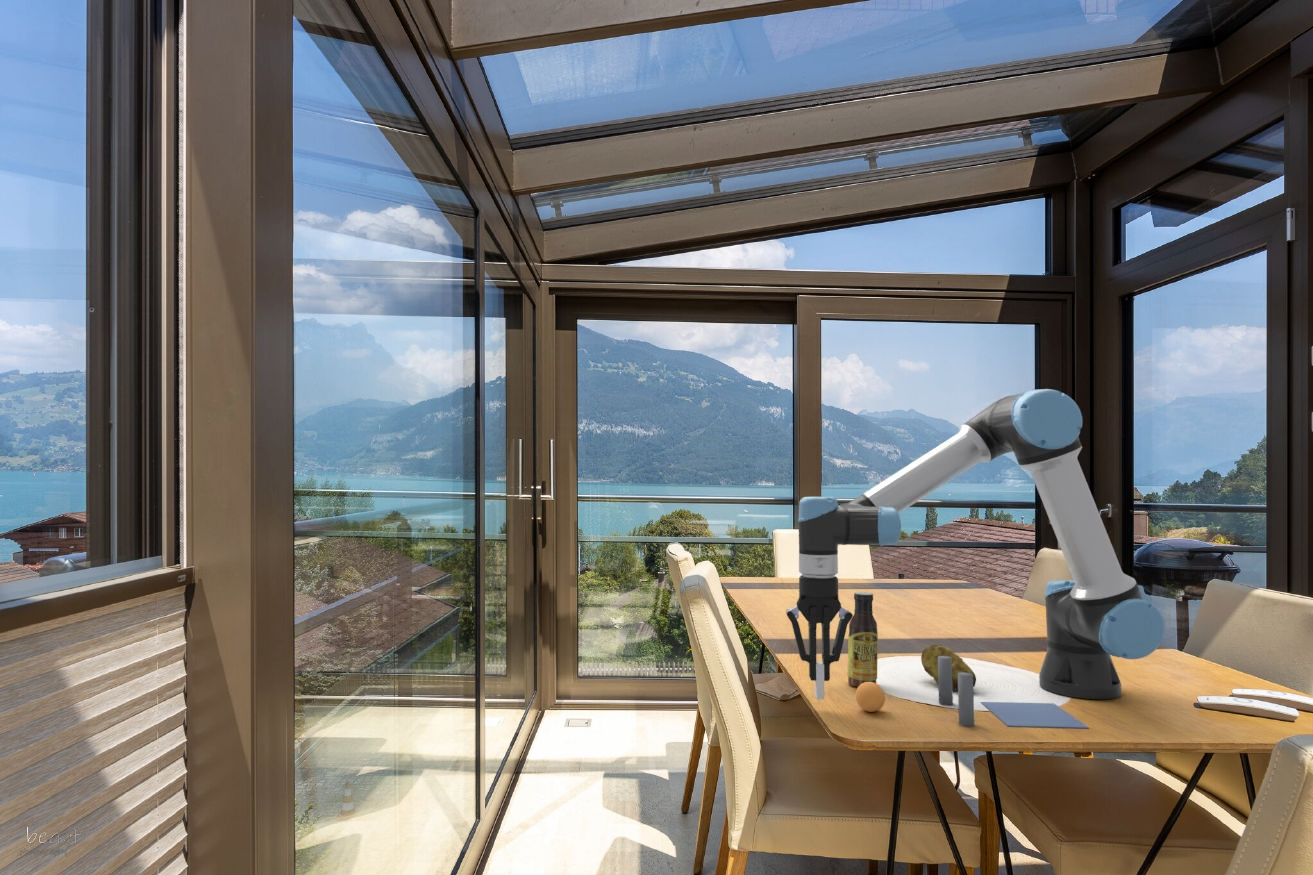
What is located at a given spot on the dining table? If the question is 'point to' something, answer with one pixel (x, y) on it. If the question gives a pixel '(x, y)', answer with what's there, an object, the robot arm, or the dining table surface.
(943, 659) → the post
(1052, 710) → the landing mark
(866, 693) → the ball
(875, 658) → the sauce bottle
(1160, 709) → the dining table surface
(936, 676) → the potato
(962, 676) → the post
